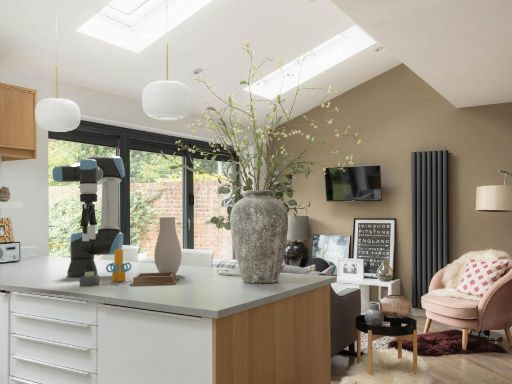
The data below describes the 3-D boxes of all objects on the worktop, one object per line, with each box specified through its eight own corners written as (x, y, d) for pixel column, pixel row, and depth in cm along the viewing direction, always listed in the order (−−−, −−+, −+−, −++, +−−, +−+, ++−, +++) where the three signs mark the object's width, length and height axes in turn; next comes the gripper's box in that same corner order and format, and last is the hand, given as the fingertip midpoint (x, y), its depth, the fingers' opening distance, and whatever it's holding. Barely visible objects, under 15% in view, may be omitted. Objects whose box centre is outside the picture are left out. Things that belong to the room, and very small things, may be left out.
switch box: (83, 284, 235) (83, 275, 235) (99, 283, 236) (99, 275, 236) (79, 286, 228) (79, 277, 228) (95, 286, 229) (95, 277, 229)
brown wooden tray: (136, 280, 246) (136, 273, 246) (178, 278, 248) (177, 271, 248) (129, 285, 227) (129, 278, 227) (175, 284, 229) (175, 276, 229)
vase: (176, 277, 255) (175, 217, 256) (150, 277, 257) (149, 217, 258) (185, 273, 268) (184, 216, 269) (160, 273, 270) (159, 217, 272)
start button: (86, 278, 234) (86, 271, 234) (95, 277, 234) (95, 271, 234) (83, 279, 230) (83, 272, 230) (93, 279, 230) (92, 272, 230)
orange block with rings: (126, 282, 239) (126, 250, 239) (104, 283, 239) (103, 250, 239) (133, 279, 251) (132, 248, 251) (112, 279, 251) (111, 248, 251)
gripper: (86, 194, 245) (86, 238, 244) (73, 192, 220) (73, 242, 219) (102, 193, 245) (102, 238, 245) (90, 192, 221) (91, 241, 220)
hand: (89, 240), depth 232 cm, fingers open, 13 cm apart
